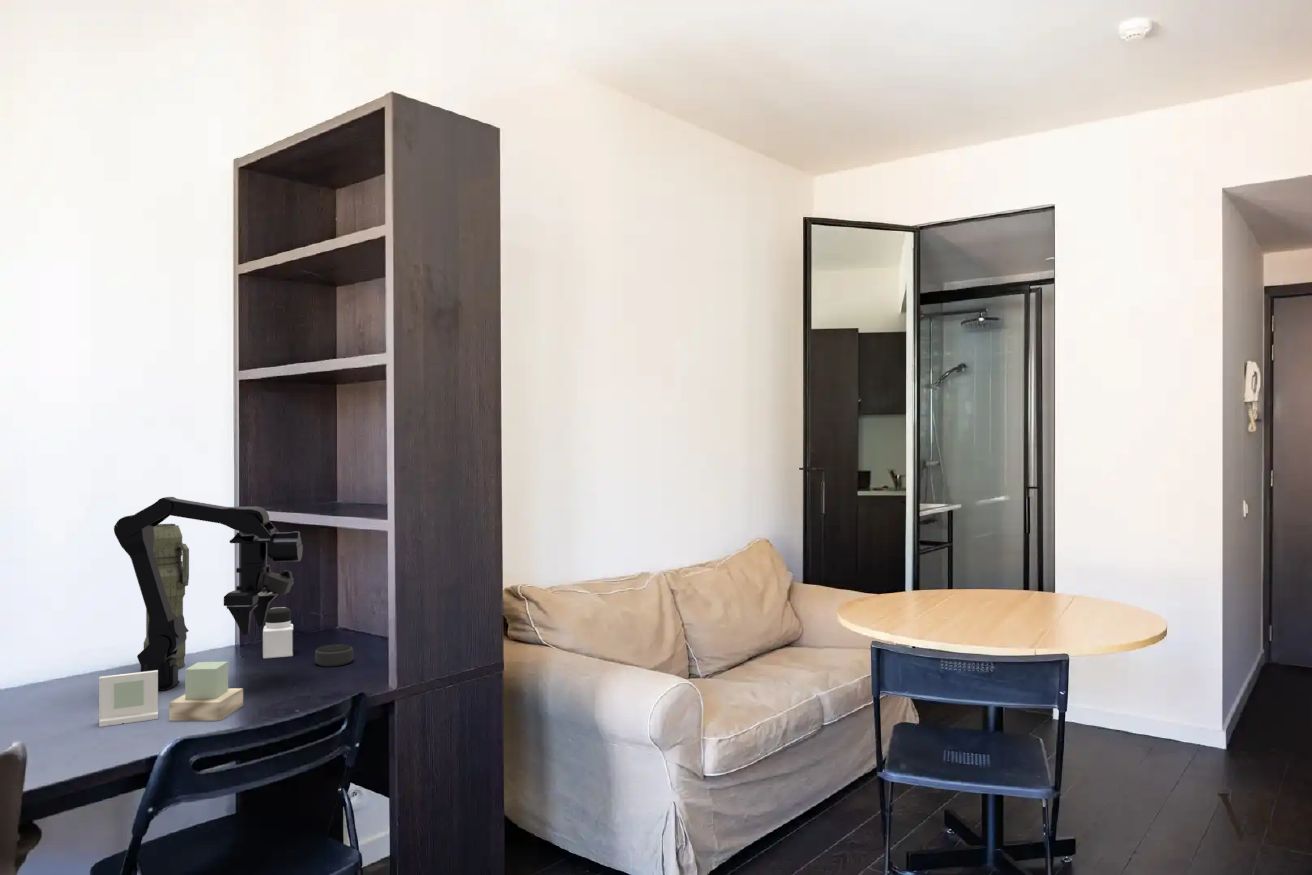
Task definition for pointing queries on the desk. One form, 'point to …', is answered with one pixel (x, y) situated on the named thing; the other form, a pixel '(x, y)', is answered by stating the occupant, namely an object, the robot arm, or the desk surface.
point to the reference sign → (128, 698)
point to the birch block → (206, 707)
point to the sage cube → (206, 680)
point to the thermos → (171, 573)
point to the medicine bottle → (278, 633)
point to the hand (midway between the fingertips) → (253, 630)
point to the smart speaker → (334, 655)
